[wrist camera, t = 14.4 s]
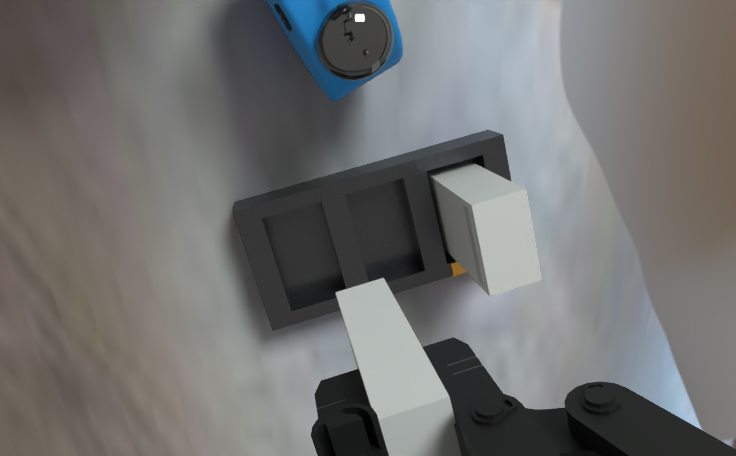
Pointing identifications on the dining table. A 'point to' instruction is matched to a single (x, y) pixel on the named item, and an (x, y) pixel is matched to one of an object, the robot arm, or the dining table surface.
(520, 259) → the pale grey rectangular block
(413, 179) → the rack
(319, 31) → the alarm clock
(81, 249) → the dining table surface
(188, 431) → the dining table surface
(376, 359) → the robot arm
